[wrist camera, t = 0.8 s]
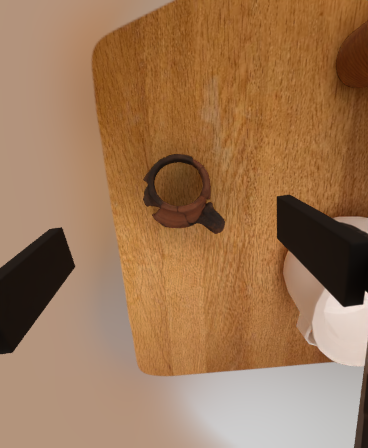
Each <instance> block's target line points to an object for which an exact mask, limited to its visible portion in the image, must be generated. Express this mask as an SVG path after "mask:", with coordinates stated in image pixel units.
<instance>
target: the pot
mask: <svg viewBox="0 0 368 448" xmlns="http://www.w3.org/2000/svg"><path fill="white" fill-rule="evenodd" d="M333 219H335V220H336V221H338V222H343V223H346V224H350V225H353V226H355V227H357V228H359V229H361V231H364V232H366V233H368V218H365V217H335V218H333ZM283 276H284V279H285V282H286V286H287V289H288V292H289V294H290V296H291V298H292V299H293V301H294V303H295V304H296V306H297V308H298V310H299V311H300V314H299V318H298V321H297V325H296V326H297V328H298V329H299V331H300V332H301V333H302V335H303V336H304V338H305V339H306V341H307V342H308V343H309V344H311V345H315V346H317V347H318V348H319V350H320V351H321V352H323V353H324V354H325V355H326V356H327V357H328V358H330V359H331V360H333V361H334V362H336V363H339V364H344V365H351V366H365V358H366V350H367V342H368V293H367V292H366V291H365V296H364V303H363V305H356V306H349V307H343V306H342V305H341V304H340V303H339V302H338V301H337V300H336V299H335V298H334V297H333V296H332V295H331V294H330V293H329V292H328V291H327V290H326V288H325V287H324V286H323V285H322V284H321V283H320V282H319V281H318V280H317V279H316V278H315V277H314V276H313V275H312V274H311V273H310V272H309V271H308V270H307V269H306V268H305V267H304V266H303V265H302V263H301V262H300V261H299V260H298V259H297V258H296V257H295V256H294V255H293V254H292V253H291V252H290V251H289V250H288V252H287V255H286V258H285V260H284V269H283ZM311 330H312V332H311V333H310V331H311Z"/></svg>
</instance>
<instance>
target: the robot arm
mask: <svg viewBox="0 0 368 448" xmlns="http://www.w3.org/2000/svg"><path fill="white" fill-rule="evenodd" d="M277 239H278V240H279V241H280V242H281V243H282V244H283V245H284V246H285V247H286V248H287V249H288V250H289V251H290V252H291V253H292V254H293V255H294V256H295V257H296V258H297V259H298V260H299V261H300V262H301V263H302V265H303V266H304V267H305V268H306V269H307V270H308V271H309V272H310V273H311V274H312V275H313V276H314V277H315V278H316V279H317V280H318V281H319V282H320V283H321V284H322V285H323V286H324V287H325V288H326V290H327V291H328V292H329V293H330V294H331V295H332V296H333V297H334V298H335V299H336V300H337V301H338V302H339V303H340V304H341V305H342V306H343V307H349V306H356V305H363V303H364V296H365V291H366V292H367V293H368V233H366V232H364V231H361V229H359V228H357V227H355V226H353V225H350V224H346V223H343V222H338V221H336V220H335V219H333V218H331V217H329V216H327V215H326V214H324V213H322V212H320V211H318V210H316V209H315V208H313V207H311V206H309V205H307V204H306V203H304V202H302V201H300V200H298V199H297V198H295V197H293V196H291V195H284V196H277ZM74 268H75V264H74V261H73V258H72V255H71V252H70V250H69V247H68V244H67V241H66V238H65V235H64V232H63V229H62V227H61V228H54V229H49V230H48V231H47V232H45V233H44V234H43V235H42V236H40V237H39V238H38V239H36V241H34V242H33V243H32V244H30V245H29V246H28V247H26V248H25V249H24V250H23V251H21V252H20V253H19V254H17V255H16V256H15V257H14V258H12V259H11V260H10V261H9V262H7V263H6V264H5V265H4V266H2V267H1V268H0V354H6V353H12V352H13V351H14V350H15V348H16V347H17V346H18V344H19V343H20V342H21V340H22V339H23V337H24V336H25V335H26V333H27V332H28V331H29V329H30V328H31V327H32V325H33V324H34V322H35V321H36V320H37V318H38V317H39V316H40V314H41V313H42V311H43V310H44V309H45V307H46V306H47V305H48V303H49V302H50V301H51V299H52V298H53V296H54V295H55V294H56V292H57V291H58V290H59V288H60V287H61V285H62V284H63V283H64V281H65V280H66V279H67V277H68V276H69V274H70V273H71V272H72V270H73V269H74ZM354 448H368V342H367V350H366V358H365V366H364V374H363V383H362V389H361V398H360V405H359V414H358V421H357V429H356V437H355V445H354Z"/></svg>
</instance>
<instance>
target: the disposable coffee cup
mask: <svg viewBox="0 0 368 448" xmlns="http://www.w3.org/2000/svg"><path fill="white" fill-rule="evenodd" d="M336 68H337V73H338V76H339V78H340V80H341V81H342V82H343V83H344V84H345V85H347V86H349V87H352V88H362V87H368V21H367V22H365V23H364V24H363V25H362V26H360V27H359V28H358V29H356V30H355V31H354V32H353V33H351V34H350V35H349V36H348V37H347V38H346V40H345V41H344V42H343V44H342V46H341V47H340V50H339V53H338V55H337V60H336Z"/></svg>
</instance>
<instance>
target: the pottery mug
mask: <svg viewBox="0 0 368 448" xmlns="http://www.w3.org/2000/svg"><path fill="white" fill-rule="evenodd" d="M176 162H181V163H186V164H189V165H192V166H194V167H195V168H196V169H197V170H198V171H199V174H200V175H201V178H202V181H203V188H202V192H201V194H200V196H199V197H198V198H197V199H196V200H195V201H194V202H192V203H190V204H188V205H184V206H174V205H170V204H168V203H166V202H164V201H163V200H162V199H161V198H160V197H159V196H158V195H157V193H156V190H155V186H154V180H155V177H156V175H157V173H158V172H159V171H160V169H161V168H163V167H164V166H166V165H168V164H171V163H176ZM143 180H144V181H146V182H147V183H148V186H147V187H146V189H145V191H144V198H143V200H144V203H145V205H146V206H147V207H148V206H156V207H160V209H159V210H158V212H157V213H156V214H155V213H153V214H152V216H153V218H154V219H155V220H156V221H158V222H159V223H160V224H161V225H163V226H165V227H169V228H184V227H189V226H192V225H194V224H196V223H199V224H202V225H204V226H205V227H206V228H208V229H209V230H210V231H212V232H213V233H215V234H217V233H220V232H222V230H223V229H224V225H225V221H224V219H223V218H222V217H221V216H220V214H219V213H217V212H216V211H215V210H214V208H213V204H212V203H211V202H208V203H206V199H210V194H211V186H210V179H209V175H208V173H207V171H206V169H205V168H204V166H203V165H201V164H200V163H199V162H197V161H196V160H193V158H192V157H191V156H188V155H181V154H173V155H169V156H167V157H166V158H162V159H160V160H159V161H158V162H157V163H156V164H154V166H153V167H152V168H151V169H150V171H149V172H148V173H147V174H146V176H145V177H144V179H143Z"/></svg>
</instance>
